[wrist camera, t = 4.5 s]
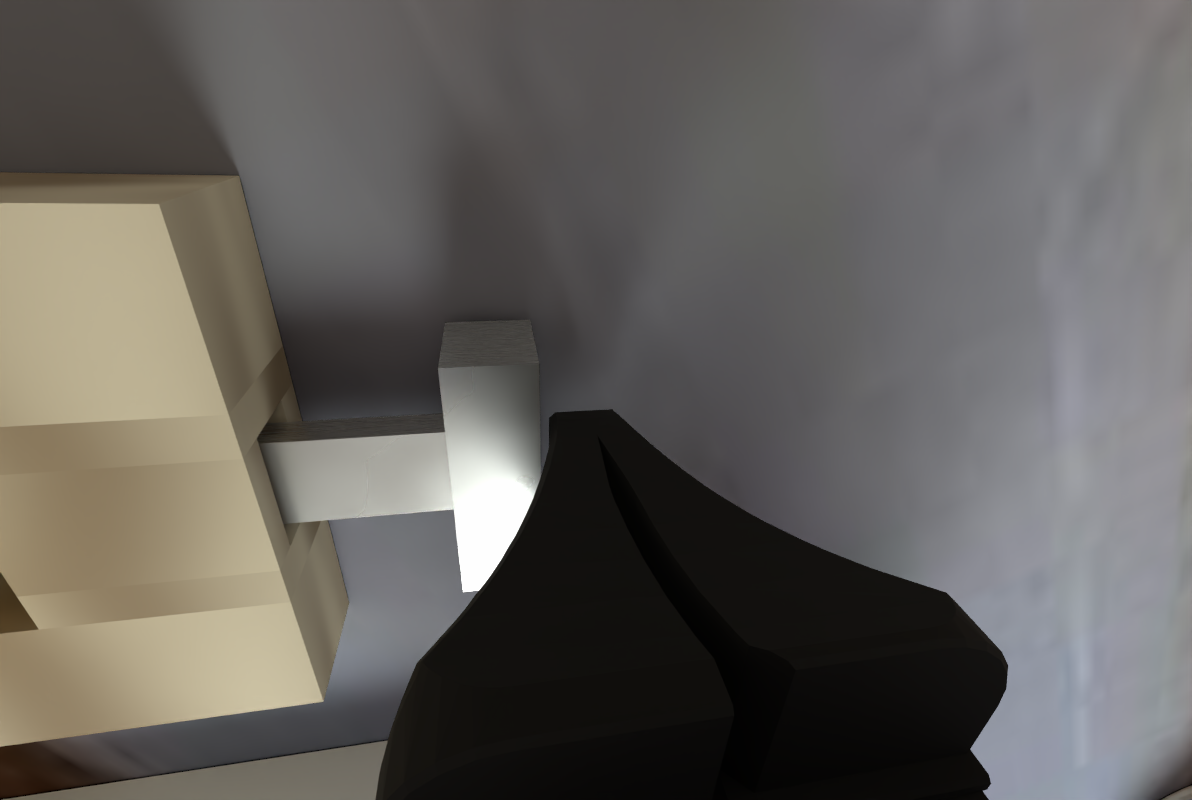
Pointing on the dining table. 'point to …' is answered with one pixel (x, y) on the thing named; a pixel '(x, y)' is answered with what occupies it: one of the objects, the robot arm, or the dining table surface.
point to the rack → (253, 780)
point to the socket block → (146, 465)
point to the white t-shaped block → (429, 450)
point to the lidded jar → (1181, 794)
